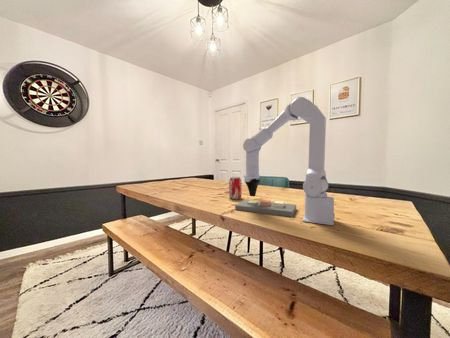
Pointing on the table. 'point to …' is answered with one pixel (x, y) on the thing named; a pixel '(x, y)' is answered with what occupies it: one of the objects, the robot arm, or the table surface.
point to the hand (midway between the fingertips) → (252, 195)
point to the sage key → (252, 202)
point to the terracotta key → (265, 203)
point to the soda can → (235, 188)
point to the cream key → (279, 204)
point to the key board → (267, 208)
